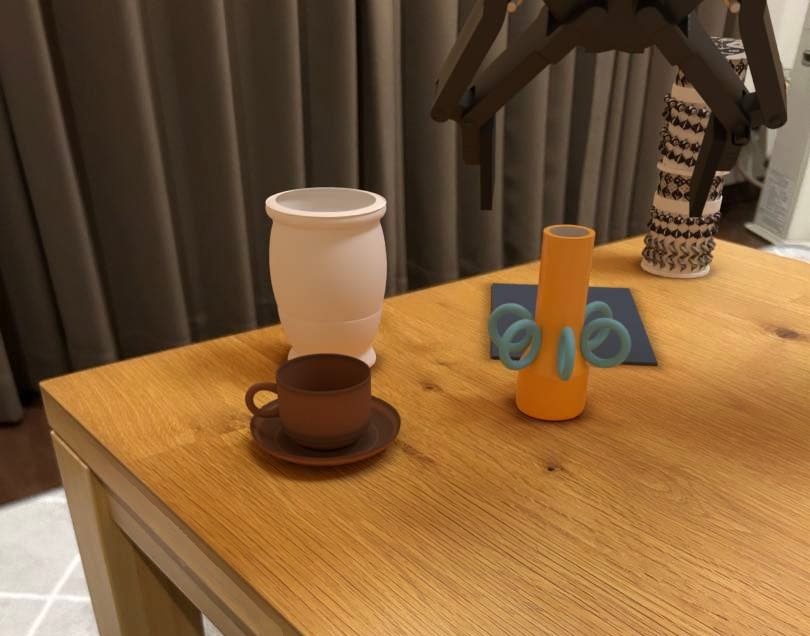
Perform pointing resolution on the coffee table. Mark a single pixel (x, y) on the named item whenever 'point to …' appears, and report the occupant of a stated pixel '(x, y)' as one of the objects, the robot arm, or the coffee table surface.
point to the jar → (328, 269)
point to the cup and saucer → (322, 412)
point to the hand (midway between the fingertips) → (589, 198)
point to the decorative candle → (685, 181)
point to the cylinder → (558, 329)
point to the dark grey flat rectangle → (609, 348)
